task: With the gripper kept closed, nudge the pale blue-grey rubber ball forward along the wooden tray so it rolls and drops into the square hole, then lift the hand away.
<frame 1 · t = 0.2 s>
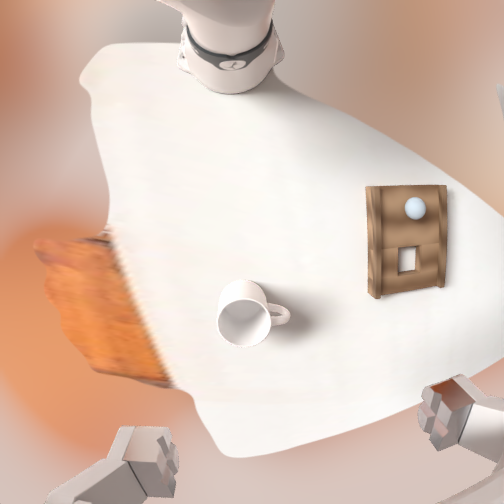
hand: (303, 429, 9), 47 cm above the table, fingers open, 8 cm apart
wooden tray: (404, 237, 57), on the table
mug: (252, 300, 58), on the table
ball: (409, 207, 53), point 2 cm above the table, touching wooden tray
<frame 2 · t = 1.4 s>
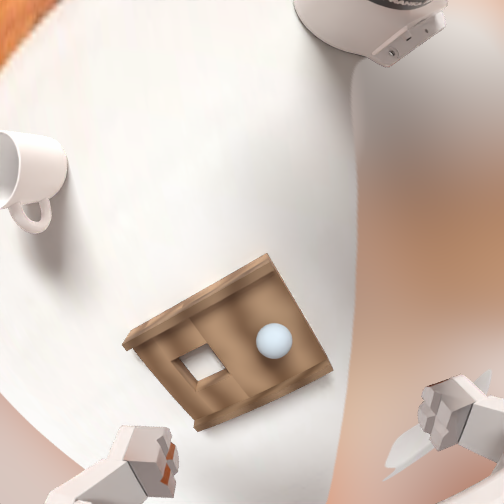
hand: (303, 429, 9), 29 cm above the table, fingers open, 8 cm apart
wooden tray: (229, 345, 39), on the table
mug: (48, 182, 34), on the table
ball: (272, 332, 36), point 2 cm above the table, touching wooden tray
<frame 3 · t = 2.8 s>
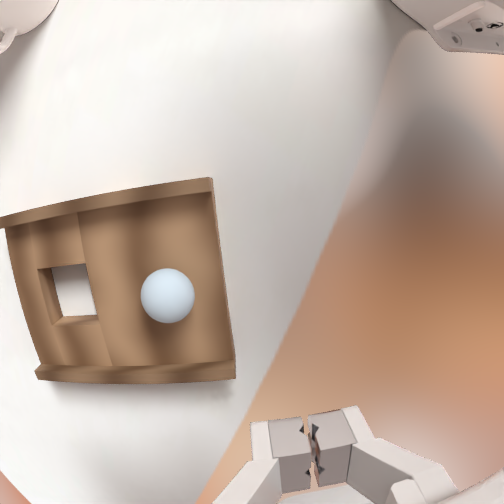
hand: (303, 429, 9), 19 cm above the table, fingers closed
wooden tray: (114, 285, 27), on the table
mug: (29, 20, 21), on the table
ball: (172, 287, 25), point 2 cm above the table, touching wooden tray
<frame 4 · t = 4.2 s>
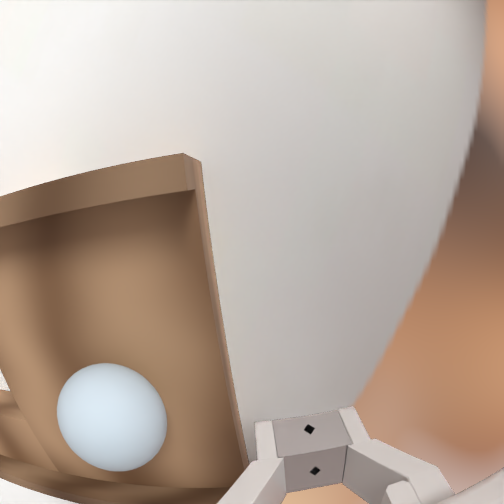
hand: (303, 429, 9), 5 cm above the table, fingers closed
wooden tray: (42, 356, 13), on the table
ball: (126, 386, 11), point 2 cm above the table, touching wooden tray
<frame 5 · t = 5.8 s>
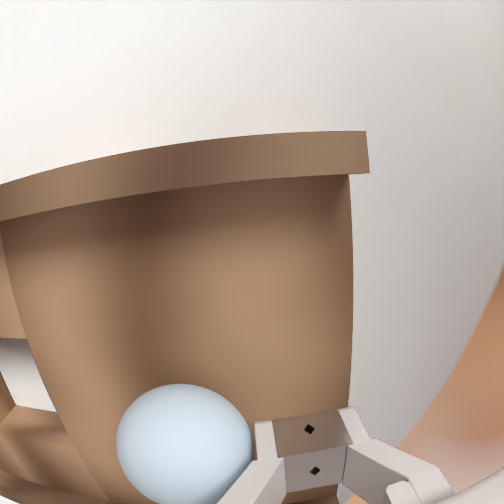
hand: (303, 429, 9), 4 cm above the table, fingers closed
wooden tray: (96, 371, 12), on the table
ball: (228, 413, 9), point 3 cm above the table, tilted 40°, touching wooden tray
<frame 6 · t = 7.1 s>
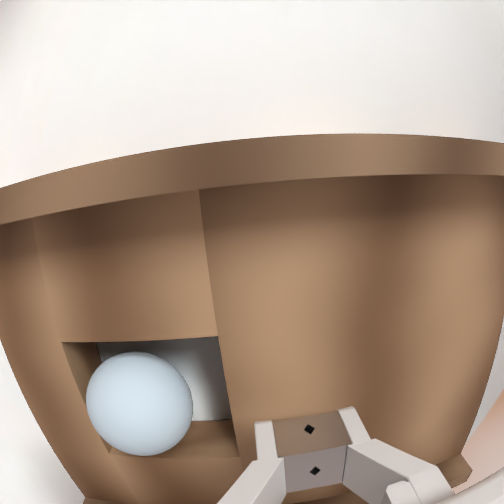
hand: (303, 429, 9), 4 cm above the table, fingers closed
wooden tray: (262, 366, 12), on the table
ball: (131, 378, 12), resting in wooden tray, tilted 25°
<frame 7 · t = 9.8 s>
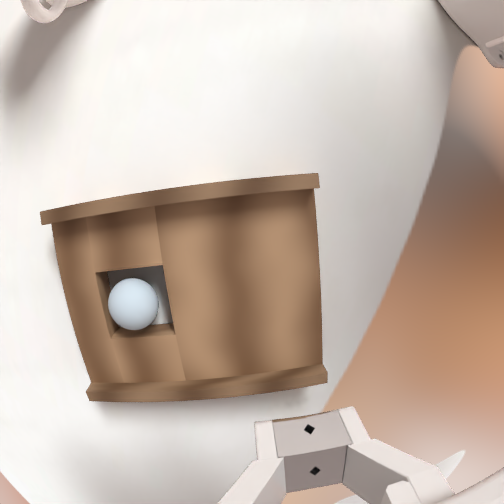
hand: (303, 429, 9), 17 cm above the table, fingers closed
wooden tray: (189, 289, 25), on the table
ball: (125, 298, 25), resting in wooden tray, tilted 36°
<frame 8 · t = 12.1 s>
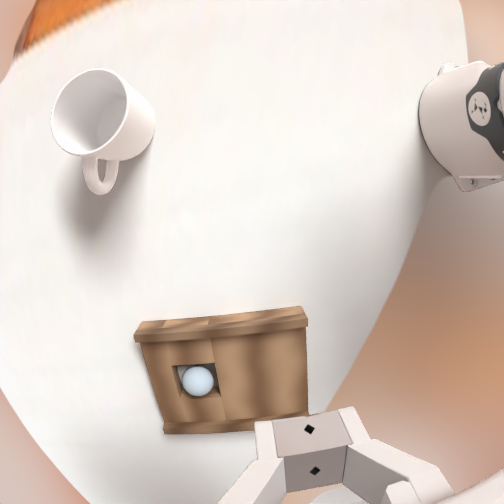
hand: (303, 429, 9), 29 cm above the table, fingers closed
wooden tray: (228, 369, 40), on the table
mug: (122, 143, 34), on the table
ball: (188, 375, 39), point 1 cm above the table, tilted 46°
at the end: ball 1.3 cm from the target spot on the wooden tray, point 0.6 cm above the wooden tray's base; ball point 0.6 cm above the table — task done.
